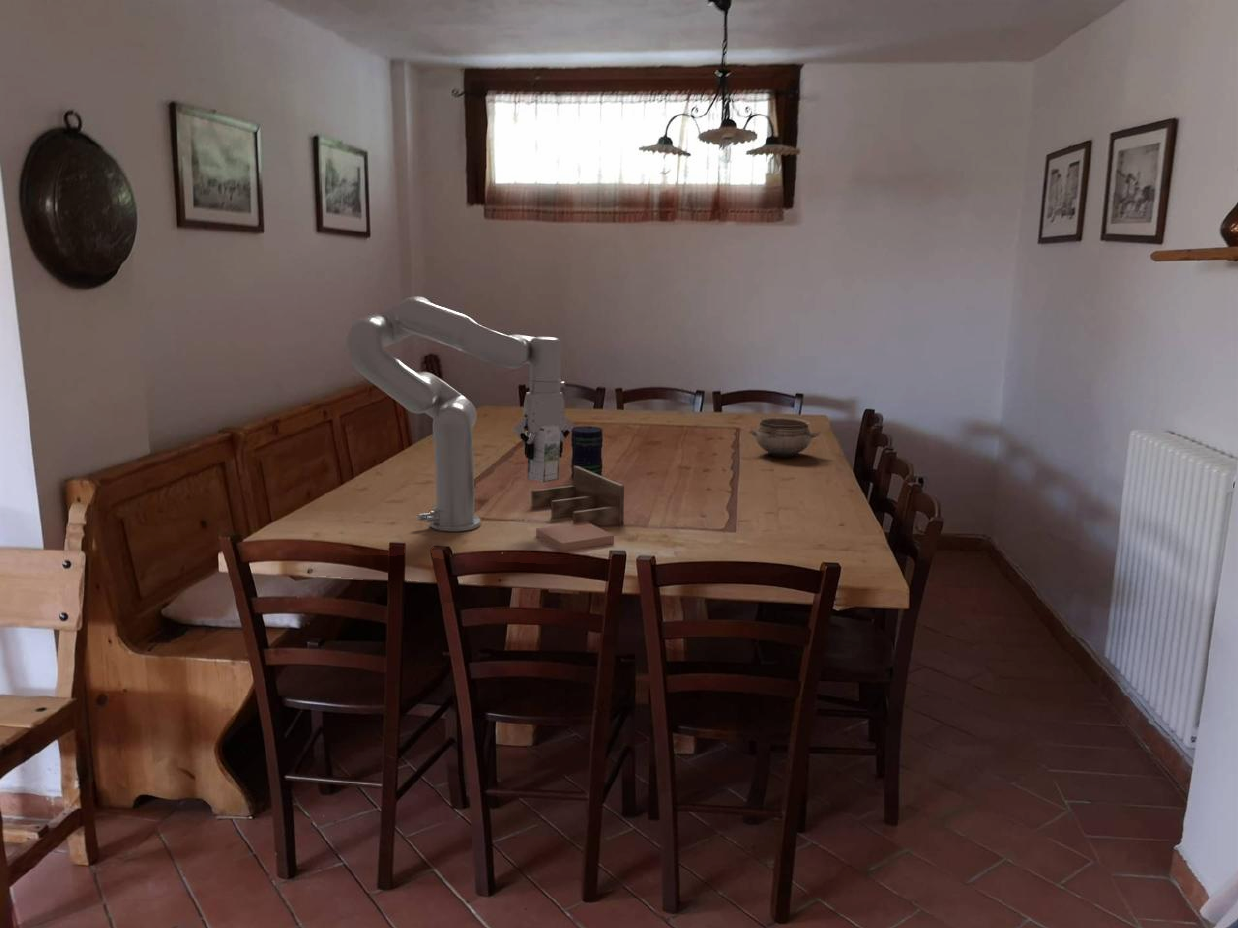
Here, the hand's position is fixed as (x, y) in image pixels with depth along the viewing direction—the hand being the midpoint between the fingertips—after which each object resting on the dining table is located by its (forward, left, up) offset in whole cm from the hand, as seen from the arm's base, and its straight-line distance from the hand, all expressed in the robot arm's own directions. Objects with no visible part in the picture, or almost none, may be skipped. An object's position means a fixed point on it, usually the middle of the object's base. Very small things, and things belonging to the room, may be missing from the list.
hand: (543, 456), depth 236 cm
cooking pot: (+113, +41, -18) cm, 121 cm away
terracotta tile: (+1, -14, -18) cm, 23 cm away
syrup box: (0, 0, -6) cm, 6 cm away
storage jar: (+36, +44, -18) cm, 60 cm away
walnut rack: (+13, +6, -18) cm, 23 cm away
